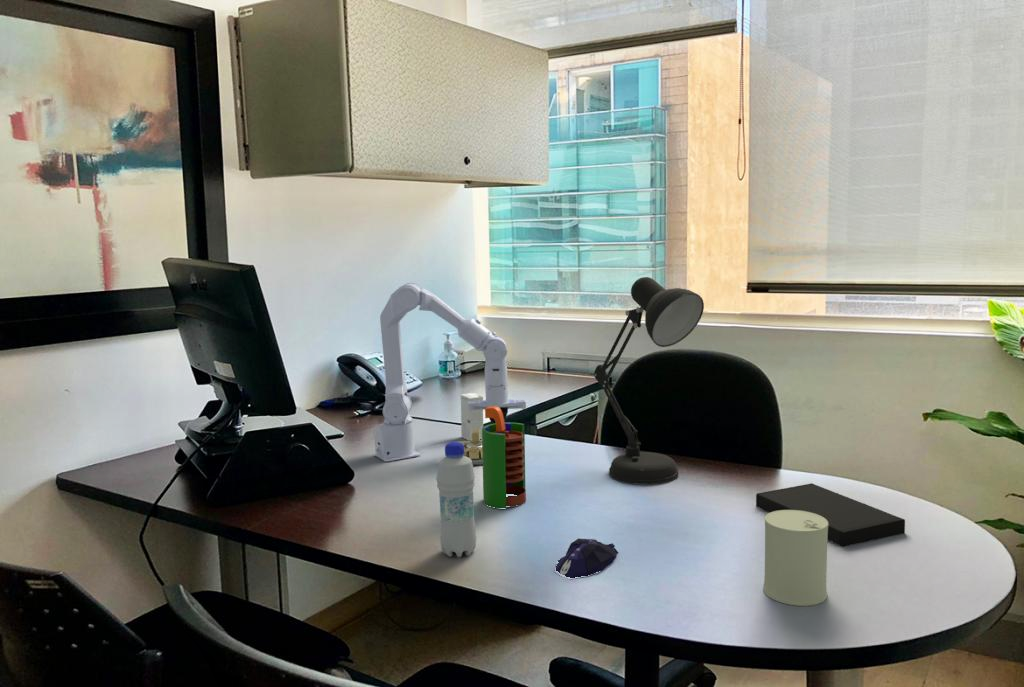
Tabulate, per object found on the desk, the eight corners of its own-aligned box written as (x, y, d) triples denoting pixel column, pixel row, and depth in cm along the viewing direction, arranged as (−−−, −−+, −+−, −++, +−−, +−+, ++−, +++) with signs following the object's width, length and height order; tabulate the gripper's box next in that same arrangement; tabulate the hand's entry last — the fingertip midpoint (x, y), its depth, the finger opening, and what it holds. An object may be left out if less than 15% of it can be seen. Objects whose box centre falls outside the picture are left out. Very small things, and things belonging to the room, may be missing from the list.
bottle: (458, 542, 146) (453, 435, 144) (485, 550, 142) (481, 440, 139) (431, 554, 141) (426, 443, 139) (459, 563, 137) (454, 449, 134)
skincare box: (460, 437, 221) (458, 394, 220) (475, 434, 224) (473, 392, 222) (470, 442, 216) (468, 397, 214) (485, 439, 218) (483, 395, 216)
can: (803, 612, 116) (804, 533, 114) (750, 590, 123) (751, 515, 122) (839, 594, 121) (841, 518, 120) (787, 574, 129) (788, 502, 127)
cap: (463, 469, 191) (463, 455, 191) (440, 456, 203) (440, 443, 202) (510, 460, 198) (510, 446, 197) (486, 448, 209) (485, 435, 208)
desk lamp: (703, 494, 168) (703, 279, 161) (580, 489, 174) (576, 281, 167) (704, 461, 191) (704, 272, 185) (596, 457, 197) (592, 274, 191)
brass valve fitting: (465, 461, 192) (464, 444, 192) (443, 450, 203) (442, 433, 203) (505, 453, 198) (504, 437, 197) (481, 443, 209) (481, 427, 208)
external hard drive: (842, 548, 139) (843, 532, 138) (755, 507, 160) (755, 493, 160) (904, 535, 144) (905, 519, 143) (812, 497, 165) (812, 483, 165)
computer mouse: (535, 570, 134) (534, 548, 133) (589, 543, 145) (589, 522, 144) (578, 586, 128) (578, 562, 127) (632, 556, 138) (632, 534, 138)
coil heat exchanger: (521, 510, 162) (518, 413, 159) (478, 508, 164) (474, 413, 161) (530, 494, 172) (527, 402, 169) (489, 492, 174) (486, 402, 171)
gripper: (524, 380, 207) (526, 432, 209) (468, 382, 207) (470, 433, 209) (525, 386, 200) (526, 439, 202) (467, 387, 200) (469, 440, 202)
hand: (498, 436), depth 205 cm, fingers closed
